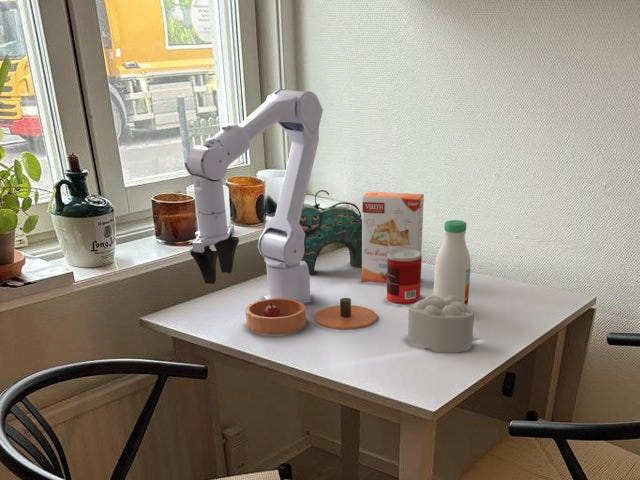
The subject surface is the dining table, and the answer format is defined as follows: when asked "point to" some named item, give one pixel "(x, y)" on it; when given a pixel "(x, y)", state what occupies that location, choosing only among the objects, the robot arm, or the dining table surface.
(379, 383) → the dining table surface
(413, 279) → the canned food
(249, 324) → the pot
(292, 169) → the robot arm
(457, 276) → the milk bottle
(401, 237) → the cracker box
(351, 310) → the lid
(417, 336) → the lumpy-topped squat cylinder
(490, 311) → the dining table surface
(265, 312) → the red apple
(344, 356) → the dining table surface
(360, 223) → the ceramic cat
